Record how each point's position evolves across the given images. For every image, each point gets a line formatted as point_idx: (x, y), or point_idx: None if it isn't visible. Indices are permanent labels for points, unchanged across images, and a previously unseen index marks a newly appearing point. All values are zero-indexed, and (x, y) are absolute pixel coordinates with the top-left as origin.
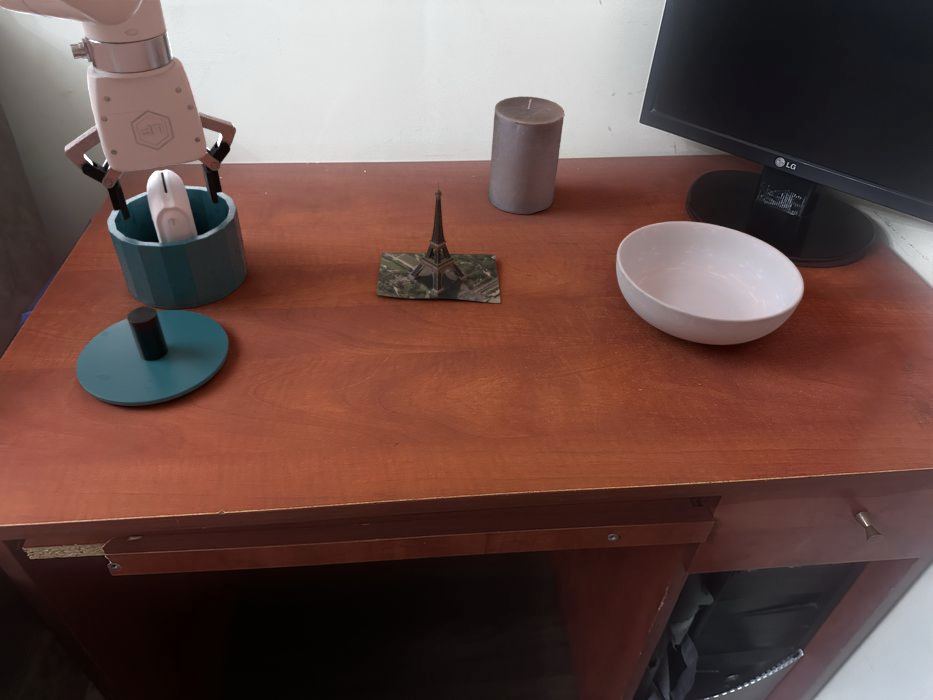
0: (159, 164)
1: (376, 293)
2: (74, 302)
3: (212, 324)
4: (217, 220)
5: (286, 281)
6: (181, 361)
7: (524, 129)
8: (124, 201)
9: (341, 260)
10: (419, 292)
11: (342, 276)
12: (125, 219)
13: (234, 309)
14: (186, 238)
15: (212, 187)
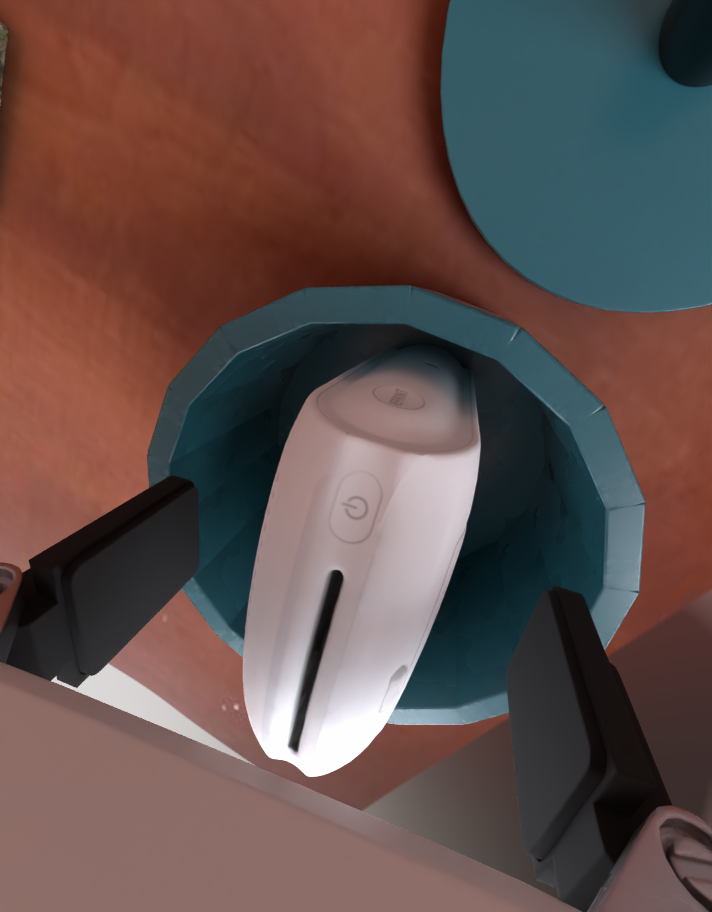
0: (220, 795)
1: (7, 36)
2: (702, 513)
3: (460, 109)
4: (256, 532)
5: (209, 277)
6: None
7: None
8: (575, 666)
9: (77, 291)
10: None
11: (86, 216)
12: (572, 592)
13: (364, 221)
14: (377, 371)
15: (125, 514)
